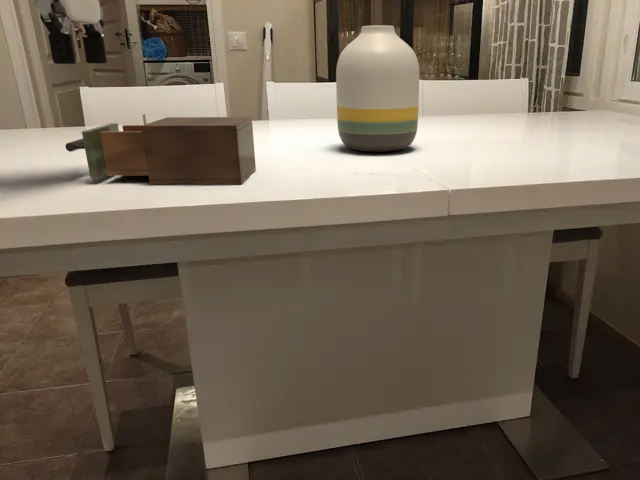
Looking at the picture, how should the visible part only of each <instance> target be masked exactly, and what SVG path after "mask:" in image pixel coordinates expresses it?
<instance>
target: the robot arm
mask: <svg viewBox="0 0 640 480" xmlns="http://www.w3.org/2000/svg"><path fill="white" fill-rule="evenodd" d="M34 3H35V5H36V8H37V10H38V13H39V19H40V20H41V22H42V23H43V24H44V31H45V33H46V35H47V36H48V37H47V38H48V43H49V49H50V53H51V59H52V63H53V64H55V65H75V64H76V63H77V58H76V53H75V47H74V41H73V34H70V33H69V31H70V27H71V24H75V23H76V22H77V23H78V25H79V27H80V29H81V31H82V32H83V34H84V36H82V44H83V49H84V56H85V61H86V63H87V64H107V63H108V60H107V59H108V57H107V51H106V45H105V39H104V38H105V32H104V26H105V22H104V9H103V7H102V6H101V4H100V0H34Z"/></svg>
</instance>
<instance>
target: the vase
mask: <svg viewBox="0 0 640 480" xmlns="http://www.w3.org/2000/svg"><path fill="white" fill-rule="evenodd" d="M335 70H336V71H335V85H336V90H335V91H336V118H337V119H336V121H337V132H338V136H339V138H340V140H341V143H342V144H343V145H344V146H346V147H347V148H348V149H351V150H354V151H360V152H371V153H380V152H381V153H384V152H386V153H387V152H394V151H401V150H403V149H406V148H408V147H409V146H411V144H413V142H414V140H415V139H416V137H417V136H416V135H417V131H418V125H419V103H420V101H419V100H420V64H419V61H418V57H417V54H416V52H415V51H414V50H413V48H412V47H411V46H410V45H409V44H408V43H407V42H405V41H404V40H403V39H402V38H401V37H399V36H398V34H397V33H396V31H395V26H394V25H362V26H361V29H360V33H359V34H358V36H356V37H355V38H354V39H353V40H352V41H351V42H349V43H348V44H347V45H346V46H345V47H344V48H343V50H342V51H341V52H340V54H339V57H338V59H337V62H336V69H335Z"/></svg>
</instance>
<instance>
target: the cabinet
mask: <svg viewBox="0 0 640 480" xmlns="http://www.w3.org/2000/svg"><path fill="white" fill-rule="evenodd" d="M147 123H148V124H147ZM147 123H146V124H145V125H144V124H141V125H142V126H141V129H142V136H143V142H144V149H145V156H146V162H147V169H148V175H147V176H148V182H149V185H151V186H155V185H156V186H159V185H160V186H162V185H163V186H164V185H165V186H166V185H168V186H169V185H170V186H172V185H173V186H176V185H177V186H179V185H180V186H181V185H186V186H188V185H189V186H190V185H191V186H193V185H194V186H195V185H196V186H197V185H202V186H203V185H206V186H207V185H208V186H210V185H211V186H212V185H215V186H216V185H222V186H224V185H225V186H226V185H227V186H229V185H235V186H236V185H237V186H238V185H240V186H241V185H243V184H244V183H245V182H246V181H247V179H248V178H250V177H251V176H252V175H253V173H255V172H256V170H257V167H256V154H255V143H254V142H255V141H254V128H253V127H254V126H253V117H252V116H203V117H202V116H197V117H196V116H194V117H193V116H190V117H189V116H186V117H185V116H183V117H182V116H181V117H180V116H179V117H177V116H176V117H175V116H172V117H170V116H169V117H168V116H167V117H164V118H161V119H158V120H154V121H152V122H147Z"/></svg>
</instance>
